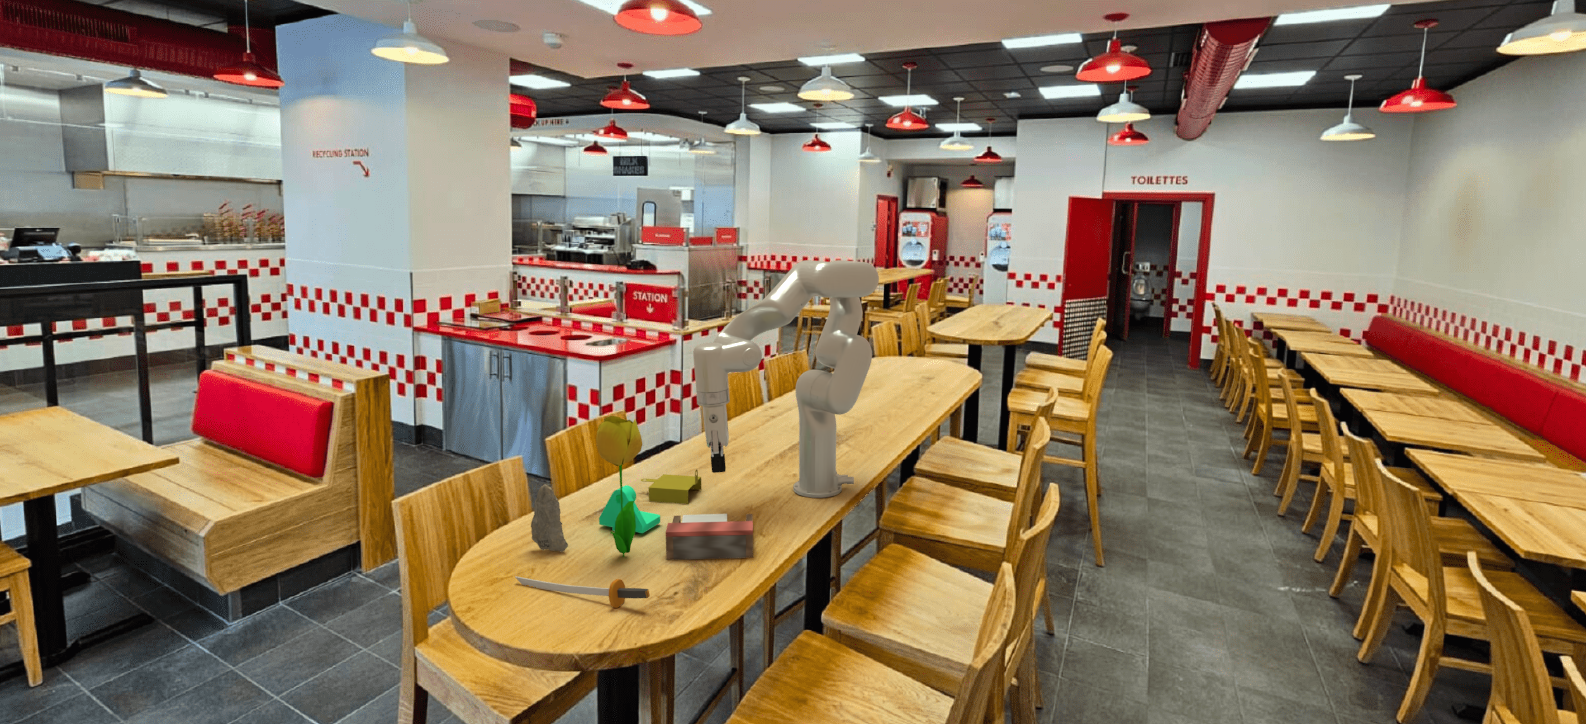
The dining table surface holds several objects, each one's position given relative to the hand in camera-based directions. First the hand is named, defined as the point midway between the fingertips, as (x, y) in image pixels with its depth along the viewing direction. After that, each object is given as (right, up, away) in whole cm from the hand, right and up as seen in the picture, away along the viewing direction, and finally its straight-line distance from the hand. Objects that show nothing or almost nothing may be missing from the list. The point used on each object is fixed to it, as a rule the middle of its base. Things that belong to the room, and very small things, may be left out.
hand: (718, 470), depth 187 cm
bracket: (-14, -9, +15) cm, 23 cm away
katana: (-22, -19, -39) cm, 49 cm away
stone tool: (-34, -15, -18) cm, 41 cm away
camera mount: (-20, -12, -5) cm, 24 cm away
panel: (-2, -14, -13) cm, 20 cm away
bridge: (0, -13, -14) cm, 19 cm away
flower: (-18, -15, -21) cm, 32 cm away
